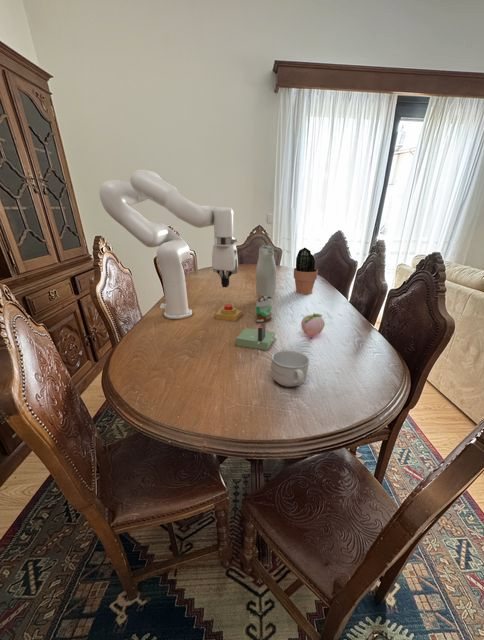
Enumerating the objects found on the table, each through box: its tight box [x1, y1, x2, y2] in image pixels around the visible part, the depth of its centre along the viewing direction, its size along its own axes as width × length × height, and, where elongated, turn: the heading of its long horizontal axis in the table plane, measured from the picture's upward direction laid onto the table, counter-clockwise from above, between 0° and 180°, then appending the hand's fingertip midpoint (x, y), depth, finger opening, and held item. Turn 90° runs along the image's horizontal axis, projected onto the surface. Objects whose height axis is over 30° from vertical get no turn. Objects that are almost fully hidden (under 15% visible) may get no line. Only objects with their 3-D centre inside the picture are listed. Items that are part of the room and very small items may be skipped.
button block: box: [214, 305, 243, 322], centre depth 130 cm, size 10×8×4 cm
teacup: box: [270, 349, 310, 388], centre depth 82 cm, size 14×11×8 cm
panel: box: [235, 327, 276, 351], centre depth 106 cm, size 13×12×3 cm
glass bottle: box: [255, 244, 277, 300], centre depth 146 cm, size 10×10×28 cm
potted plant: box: [293, 247, 319, 295], centre depth 162 cm, size 14×14×25 cm
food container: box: [255, 294, 274, 324], centre depth 126 cm, size 12×6×10 cm, turn 168°
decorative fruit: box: [300, 313, 326, 337], centre depth 111 cm, size 9×8×10 cm
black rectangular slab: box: [257, 323, 266, 342], centre depth 102 cm, size 4×1×5 cm, turn 163°
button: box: [223, 303, 233, 310], centre depth 129 cm, size 4×4×2 cm
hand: (225, 286), depth 123 cm, fingers closed
